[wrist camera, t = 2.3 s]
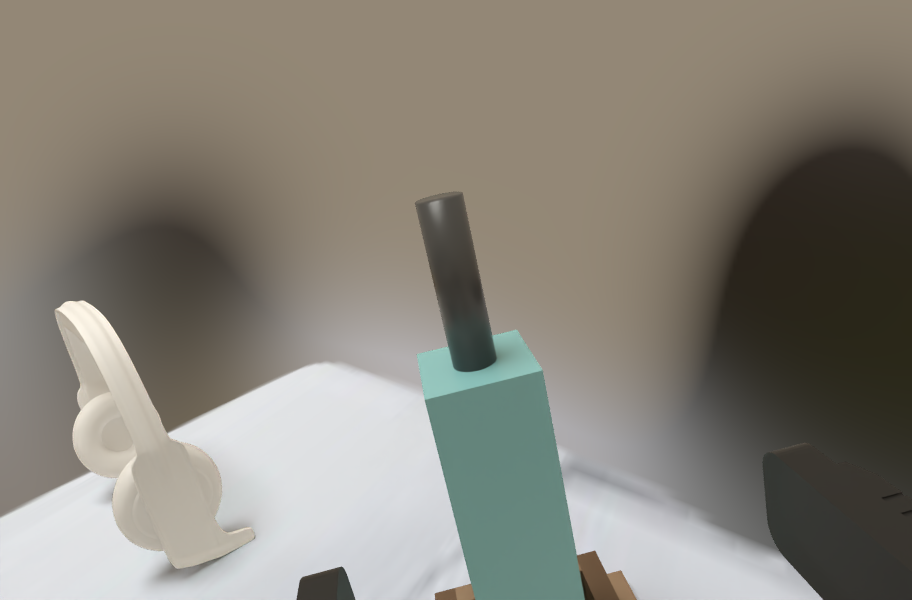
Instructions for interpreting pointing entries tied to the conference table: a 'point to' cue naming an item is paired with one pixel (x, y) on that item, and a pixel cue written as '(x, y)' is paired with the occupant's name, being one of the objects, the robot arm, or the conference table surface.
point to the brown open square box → (602, 591)
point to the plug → (493, 430)
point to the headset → (141, 450)
